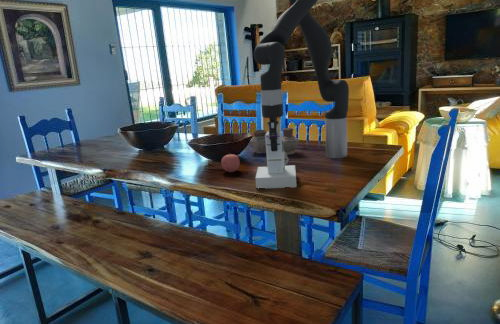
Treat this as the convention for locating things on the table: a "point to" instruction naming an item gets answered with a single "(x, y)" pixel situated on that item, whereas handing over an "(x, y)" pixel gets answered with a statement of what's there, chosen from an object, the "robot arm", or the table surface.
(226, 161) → the apple
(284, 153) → the game die
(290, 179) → the stand
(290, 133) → the pottery
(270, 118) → the robot arm
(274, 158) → the syrup box
